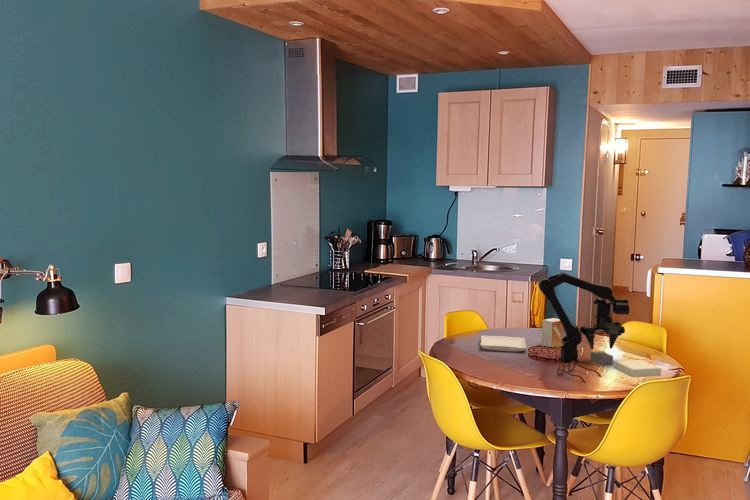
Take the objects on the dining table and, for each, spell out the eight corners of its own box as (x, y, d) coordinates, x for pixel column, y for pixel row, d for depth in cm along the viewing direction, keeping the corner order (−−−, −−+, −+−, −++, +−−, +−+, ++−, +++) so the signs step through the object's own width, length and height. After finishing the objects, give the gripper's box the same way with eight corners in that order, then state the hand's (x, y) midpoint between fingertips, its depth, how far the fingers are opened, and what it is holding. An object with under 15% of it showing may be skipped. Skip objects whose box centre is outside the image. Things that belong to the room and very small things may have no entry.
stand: (632, 376, 265) (633, 369, 264) (614, 367, 277) (614, 361, 277) (661, 375, 267) (661, 368, 267) (641, 366, 280) (642, 359, 280)
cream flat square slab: (524, 343, 320) (524, 336, 320) (526, 354, 300) (527, 347, 299) (480, 341, 324) (481, 334, 324) (480, 352, 303) (480, 344, 303)
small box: (551, 348, 309) (552, 321, 308) (541, 346, 314) (542, 319, 313) (562, 346, 313) (563, 319, 312) (552, 343, 319) (553, 317, 317)
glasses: (573, 370, 274) (573, 359, 274) (602, 377, 265) (602, 365, 264) (556, 376, 265) (556, 364, 265) (585, 384, 256) (586, 371, 255)
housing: (602, 365, 281) (603, 354, 281) (590, 360, 290) (590, 349, 289) (612, 364, 283) (613, 354, 282) (599, 359, 291) (600, 349, 291)
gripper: (593, 318, 274) (592, 354, 276) (633, 317, 278) (631, 352, 280) (580, 313, 285) (578, 348, 287) (618, 311, 289) (616, 346, 291)
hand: (601, 348), depth 286 cm, fingers open, 9 cm apart
